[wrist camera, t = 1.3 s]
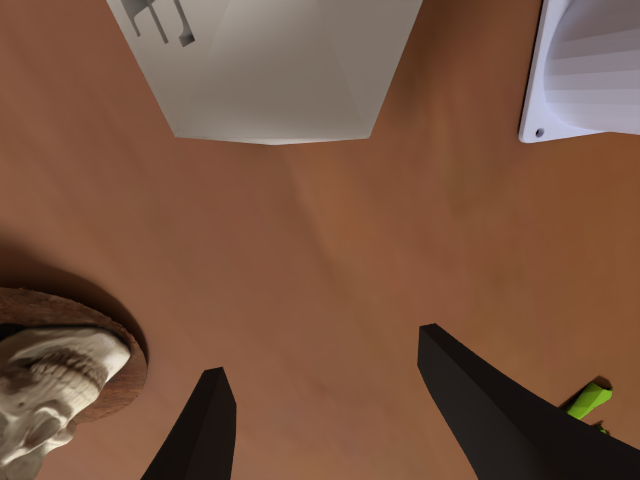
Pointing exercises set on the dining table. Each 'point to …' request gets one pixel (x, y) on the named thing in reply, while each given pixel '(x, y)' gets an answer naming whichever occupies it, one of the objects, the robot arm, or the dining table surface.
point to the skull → (58, 374)
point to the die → (268, 64)
